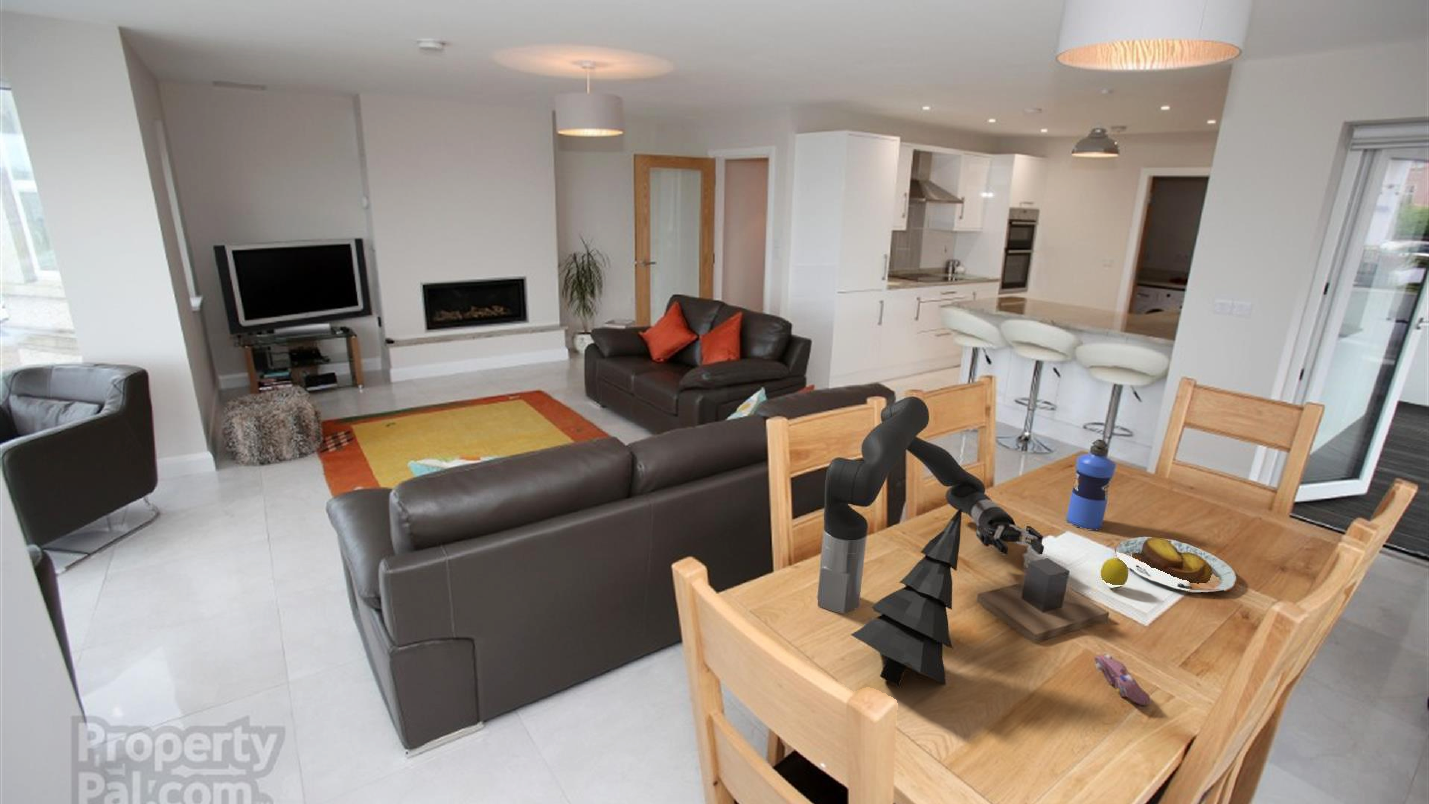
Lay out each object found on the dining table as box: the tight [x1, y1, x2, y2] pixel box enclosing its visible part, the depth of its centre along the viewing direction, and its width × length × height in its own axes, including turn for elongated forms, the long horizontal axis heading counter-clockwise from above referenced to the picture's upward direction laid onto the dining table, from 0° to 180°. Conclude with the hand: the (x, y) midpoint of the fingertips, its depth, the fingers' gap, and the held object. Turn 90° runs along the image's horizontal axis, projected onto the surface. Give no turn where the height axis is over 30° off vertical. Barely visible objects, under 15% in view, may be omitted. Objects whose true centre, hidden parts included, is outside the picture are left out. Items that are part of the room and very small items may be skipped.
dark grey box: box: [1022, 557, 1071, 612], centre depth 150 cm, size 6×6×9 cm
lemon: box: [1100, 557, 1129, 586], centre depth 161 cm, size 6×6×8 cm
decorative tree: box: [850, 508, 963, 687], centre depth 129 cm, size 15×15×35 cm
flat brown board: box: [975, 581, 1110, 644], centre depth 151 cm, size 22×16×7 cm
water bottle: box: [1065, 439, 1117, 531], centre depth 192 cm, size 9×9×25 cm
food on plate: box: [1114, 536, 1239, 593], centre depth 171 cm, size 25×25×7 cm
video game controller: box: [1094, 653, 1151, 706], centre depth 127 cm, size 10×5×7 cm, turn 6°
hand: (1023, 551), depth 159 cm, fingers open, 8 cm apart
